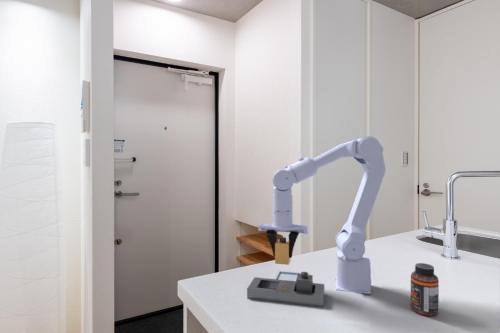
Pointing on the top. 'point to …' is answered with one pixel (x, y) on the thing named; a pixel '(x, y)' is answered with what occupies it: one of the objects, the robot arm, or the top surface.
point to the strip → (284, 292)
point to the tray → (287, 275)
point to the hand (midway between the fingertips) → (282, 256)
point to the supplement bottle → (424, 290)
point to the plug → (282, 251)
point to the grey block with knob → (304, 283)
